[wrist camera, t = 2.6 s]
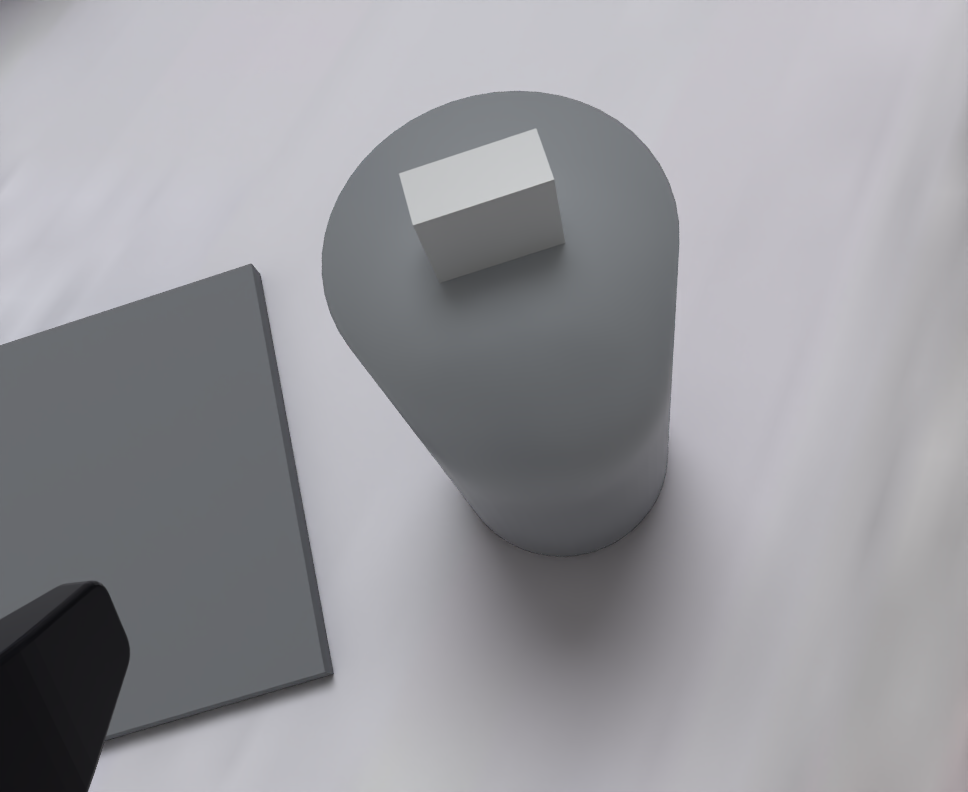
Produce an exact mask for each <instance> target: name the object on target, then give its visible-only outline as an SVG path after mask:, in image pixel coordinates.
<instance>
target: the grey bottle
mask: <svg viewBox="0 0 968 792" xmlns="http://www.w3.org/2000/svg"><path fill="white" fill-rule="evenodd" d="M678 257H679V220H678V214H677V208H676V202H675V199H674V196H673V193H672V190H671V187H670V184H669V181H668V179H667V177H666V175H665V173H664V171H663V169H662V167H661V166H660V164H659V162H658V161H657V160H656V158H655V157H654V155H653V154H652V153H651V151H650V150H649V148H648V147H647V146H646V145H645V144H644V143H643V142H642V141H641V140H640V139H639V138H638V137H637V136H636V135H635V134H634V133H633V132H632V131H631V130H629V129H628V128H627V127H626V126H624V125H623V124H622V123H620V122H619V121H618V120H616V119H615V118H613V117H611V116H609V115H608V114H606V113H604V112H603V111H601V110H599V109H597V108H594V107H592V106H590V105H587V104H585V103H583V102H580V101H577V100H573V99H570V98H567V97H563V96H559V95H553V94H547V93H541V92H528V91H507V92H493V93H487V94H481V95H475V96H471V97H467V98H464V99H460V100H456V101H453V102H450V103H447V104H445V105H442V106H440V107H437V108H435V109H432V110H430V111H428V112H426V113H424V114H422V115H420V116H419V117H417V118H415V119H413V120H411V121H410V122H408V123H407V124H405V125H404V126H402V127H401V128H399V129H397V130H396V131H394V132H393V133H392V134H391V135H390V136H388V137H387V138H386V139H385V140H383V141H382V142H381V143H380V144H379V145H377V146H376V147H375V149H374V150H373V151H372V152H371V153H370V154H369V155H368V156H367V157H366V158H365V159H364V160H363V161H362V162H361V164H360V165H359V166H358V167H357V169H356V170H355V171H354V173H353V174H352V175H351V177H350V178H349V180H348V181H347V183H346V185H345V186H344V188H343V190H342V191H341V193H340V195H339V197H338V199H337V201H336V203H335V206H334V208H333V210H332V213H331V215H330V219H329V222H328V225H327V229H326V232H325V237H324V244H323V251H322V279H323V286H324V293H325V297H326V300H327V304H328V307H329V311H330V314H331V316H332V318H333V320H334V322H335V324H336V327H337V329H338V331H339V333H340V334H341V336H342V337H343V339H344V340H345V342H346V343H347V345H348V346H349V348H350V349H351V350H352V352H353V353H354V354H355V356H356V357H357V358H358V359H359V361H360V362H361V363H362V365H363V366H364V367H365V369H366V370H367V371H368V372H369V374H370V375H371V376H372V378H373V379H374V380H375V382H376V383H377V384H378V386H379V387H380V388H381V389H382V391H383V392H384V393H385V395H386V396H387V397H388V399H389V400H390V401H391V402H392V404H393V405H394V406H395V408H396V409H397V410H398V412H399V413H400V414H401V415H402V417H403V418H404V419H405V421H406V422H407V423H408V425H409V426H410V427H411V429H412V430H413V431H414V432H415V434H416V435H417V436H418V438H419V439H420V440H421V442H422V443H423V444H424V445H425V447H426V448H427V449H428V451H429V452H430V453H431V455H432V456H433V457H434V458H435V460H436V461H437V462H438V464H439V465H440V466H441V468H442V469H443V470H444V472H445V473H446V474H447V475H448V477H449V478H450V479H451V481H452V482H453V483H454V485H455V486H456V487H457V488H458V490H459V491H460V492H461V494H462V495H463V496H464V498H465V499H466V500H467V501H468V503H469V504H470V505H471V507H472V508H473V509H474V511H475V512H476V513H477V515H478V516H479V517H480V518H481V519H482V521H483V522H484V523H485V524H486V525H487V526H488V527H489V528H490V529H491V530H492V531H493V532H495V533H496V534H497V535H498V536H499V537H501V538H503V539H504V540H506V541H507V542H509V543H510V544H513V545H515V546H517V547H519V548H521V549H524V550H527V551H530V552H533V553H536V554H542V555H548V556H574V555H581V554H585V553H590V552H593V551H596V550H599V549H602V548H604V547H607V546H608V545H610V544H612V543H614V542H616V541H618V540H619V539H621V538H622V537H624V536H625V535H627V534H628V533H629V532H631V531H632V530H633V529H634V528H635V527H636V526H637V525H638V524H639V523H640V522H641V521H642V520H643V518H644V517H645V516H646V515H647V514H648V512H649V511H650V509H651V508H652V506H653V504H654V503H655V501H656V499H657V497H658V495H659V493H660V490H661V488H662V485H663V481H664V478H665V474H666V467H667V459H668V440H669V422H670V404H671V385H672V367H673V349H674V330H675V312H676V294H677V275H678Z"/></svg>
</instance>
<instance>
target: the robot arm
mask: <svg viewBox="0 0 968 792" xmlns="http://www.w3.org/2000/svg"><path fill="white" fill-rule="evenodd" d="M129 660H130V645H129V641H128V637H127V635H126V633H125V630H124V628H123V625H122V623H121V621H120V618H119V616H118V613H117V611H116V609H115V606H114V604H113V602H112V599H111V597H110V594H109V592H108V590H107V589H106V587H105V586H104V585H103V584H102V583H100V582H98V581H82V582H74V583H65V584H62V585H59V586H57V587H55V588H53V589H52V590H50V591H48V592H46V593H45V594H43V595H41V596H40V597H38V598H36V599H34V600H33V601H31V602H29V603H27V604H26V605H24V606H22V607H20V608H19V609H17V610H15V611H14V612H12V613H10V614H8V615H7V616H5V617H3V618H1V619H0V792H88V790H89V787H90V784H91V781H92V778H93V776H94V773H95V770H96V767H97V764H98V760H99V757H100V754H101V751H102V748H103V745H104V741H105V738H106V735H107V732H108V729H109V726H110V722H111V719H112V716H113V713H114V710H115V707H116V703H117V700H118V697H119V694H120V691H121V688H122V684H123V681H124V678H125V675H126V672H127V669H128V665H129Z"/></svg>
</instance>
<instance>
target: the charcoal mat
mask: <svg viewBox="0 0 968 792" xmlns="http://www.w3.org/2000/svg"><path fill="white" fill-rule="evenodd" d="M82 581H98V582H100V583H102V584H103V585H104V586H105V587H106V589H107V590H108V592H109V594H110V597H111V599H112V602H113V604H114V606H115V609H116V611H117V613H118V616H119V618H120V621H121V623H122V625H123V628H124V630H125V633H126V635H127V637H128V641H129V645H130V660H129V665H128V669H127V672H126V675H125V678H124V681H123V684H122V688H121V691H120V694H119V697H118V700H117V703H116V707H115V710H114V713H113V716H112V719H111V722H110V726H109V729H108V732H107V735H106V738H105V741H106V740H109V739H113V738H116V737H119V736H123V735H126V734H130V733H133V732H137V731H140V730H143V729H147V728H150V727H154V726H157V725H160V724H164V723H167V722H171V721H174V720H177V719H181V718H184V717H188V716H191V715H195V714H198V713H201V712H205V711H208V710H212V709H215V708H218V707H222V706H225V705H229V704H232V703H235V702H239V701H242V700H246V699H249V698H253V697H256V696H259V695H263V694H266V693H270V692H273V691H276V690H280V689H283V688H287V687H290V686H293V685H297V684H300V683H304V682H307V681H311V680H314V679H317V678H321V677H324V676H328V675H331V674H333V669H332V663H331V658H330V652H329V647H328V642H327V636H326V631H325V625H324V620H323V614H322V609H321V603H320V598H319V592H318V587H317V582H316V576H315V571H314V565H313V560H312V554H311V549H310V543H309V538H308V533H307V527H306V522H305V516H304V511H303V505H302V500H301V494H300V489H299V483H298V478H297V473H296V467H295V462H294V456H293V451H292V445H291V440H290V434H289V429H288V423H287V418H286V413H285V407H284V402H283V396H282V391H281V385H280V380H279V374H278V369H277V364H276V358H275V353H274V347H273V342H272V336H271V331H270V325H269V320H268V314H267V309H266V304H265V298H264V293H263V287H262V282H261V276H260V273H259V272H258V271H257V270H256V269H255V267H254V266H253V265H252V264H248V265H245V266H242V267H239V268H236V269H233V270H230V271H227V272H224V273H221V274H218V275H215V276H212V277H209V278H206V279H202V280H199V281H196V282H193V283H190V284H187V285H184V286H181V287H178V288H175V289H172V290H169V291H166V292H163V293H160V294H156V295H153V296H150V297H147V298H144V299H141V300H138V301H135V302H132V303H129V304H126V305H123V306H120V307H117V308H113V309H110V310H107V311H104V312H101V313H98V314H95V315H92V316H89V317H86V318H83V319H80V320H77V321H74V322H71V323H67V324H64V325H61V326H58V327H55V328H52V329H49V330H46V331H43V332H40V333H37V334H34V335H31V336H28V337H24V338H21V339H18V340H15V341H12V342H9V343H6V344H3V345H0V619H1V618H3V617H5V616H7V615H8V614H10V613H12V612H14V611H15V610H17V609H19V608H20V607H22V606H24V605H26V604H27V603H29V602H31V601H33V600H34V599H36V598H38V597H40V596H41V595H43V594H45V593H46V592H48V591H50V590H52V589H53V588H55V587H57V586H59V585H62V584H65V583H74V582H82Z"/></svg>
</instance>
